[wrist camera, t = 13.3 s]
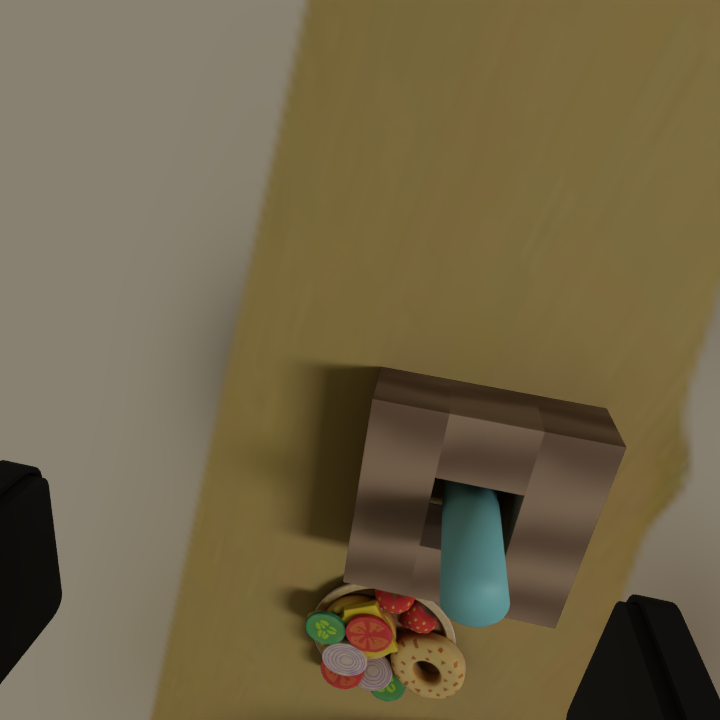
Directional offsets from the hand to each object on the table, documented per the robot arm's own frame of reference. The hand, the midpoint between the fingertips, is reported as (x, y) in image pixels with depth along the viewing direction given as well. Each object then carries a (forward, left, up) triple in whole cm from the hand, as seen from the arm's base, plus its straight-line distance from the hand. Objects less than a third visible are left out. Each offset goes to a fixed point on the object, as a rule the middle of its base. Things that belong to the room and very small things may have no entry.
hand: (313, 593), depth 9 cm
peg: (+18, +7, -30) cm, 36 cm away
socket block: (+18, +7, -30) cm, 36 cm away
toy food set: (+36, +3, -31) cm, 47 cm away
